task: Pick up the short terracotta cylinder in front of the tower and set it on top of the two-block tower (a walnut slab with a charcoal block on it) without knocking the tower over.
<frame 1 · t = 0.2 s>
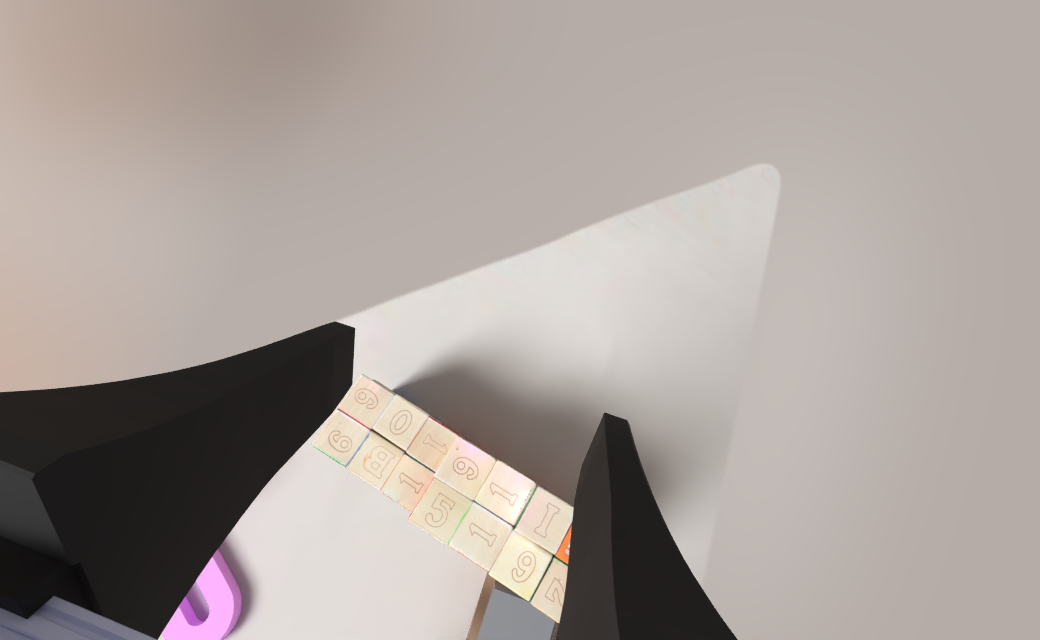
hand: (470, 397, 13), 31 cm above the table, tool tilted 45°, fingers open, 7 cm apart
stack of blocks: (468, 481, 42), on the table
tower base: (511, 614, 39), on the table, touching tower top
tower top: (514, 625, 37), point 2 cm above the table, touching tower base
bracket: (188, 567, 39), on the table
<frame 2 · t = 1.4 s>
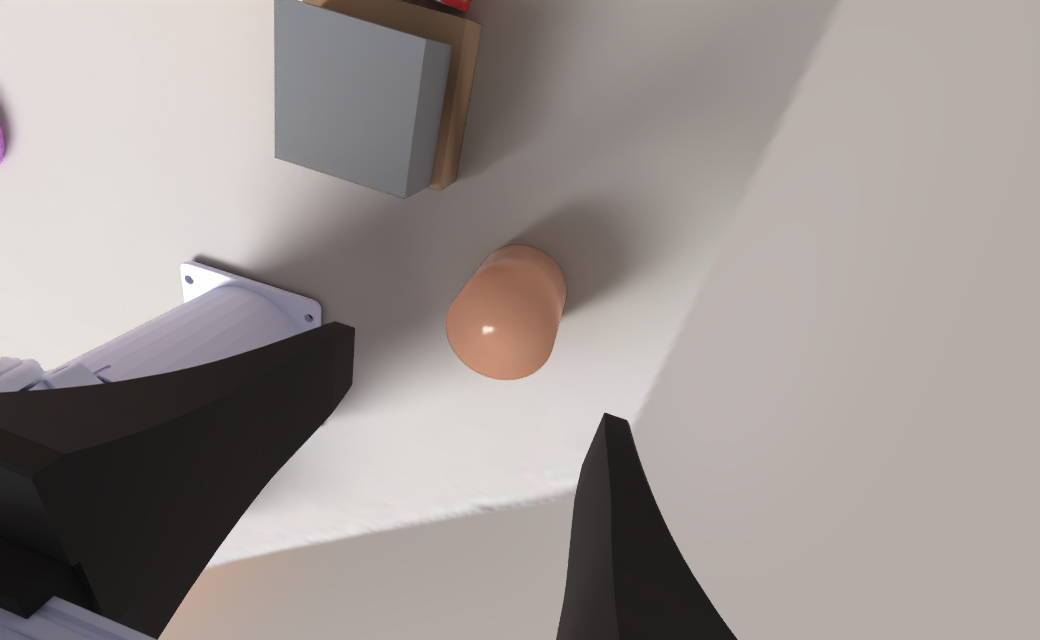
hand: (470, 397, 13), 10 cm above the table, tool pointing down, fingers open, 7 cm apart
terracotta cylinder: (520, 288, 22), on the table
tower base: (403, 89, 20), on the table, touching tower top
tower top: (378, 101, 18), point 2 cm above the table, touching tower base
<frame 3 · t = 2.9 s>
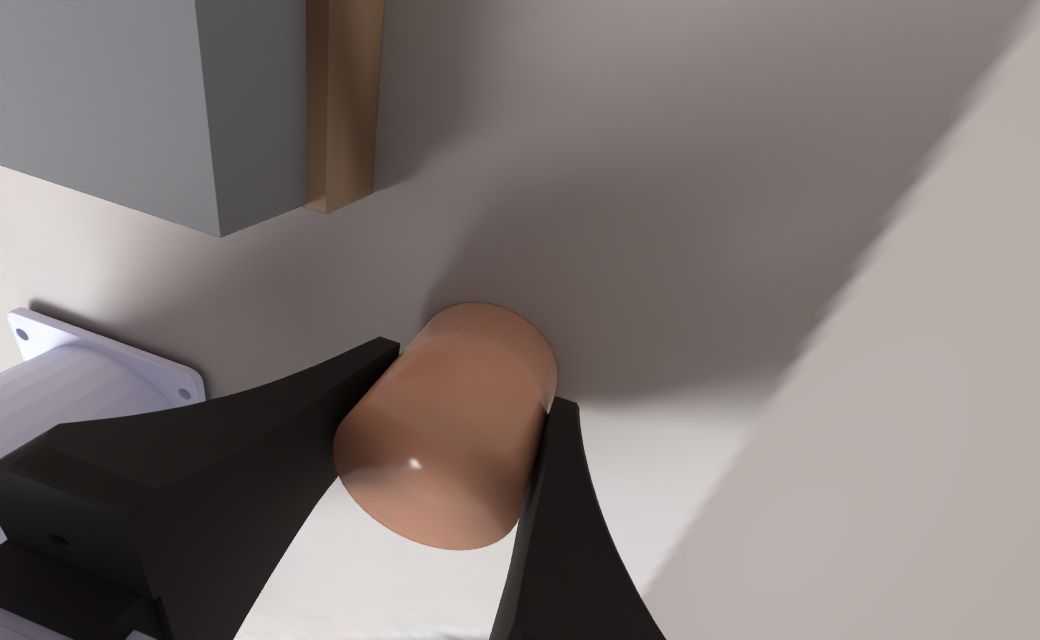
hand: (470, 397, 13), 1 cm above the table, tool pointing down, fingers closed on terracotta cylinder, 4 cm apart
terracotta cylinder: (485, 368, 14), on the table, touching gripper
tower base: (276, 36, 11), on the table, touching tower top
tower top: (195, 50, 9), point 2 cm above the table, touching tower base
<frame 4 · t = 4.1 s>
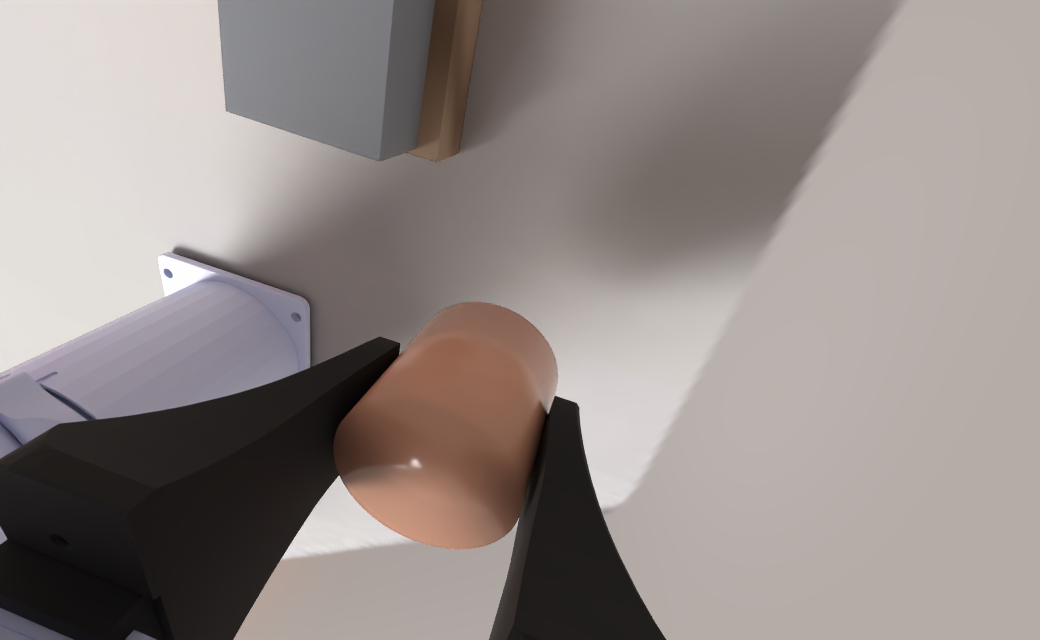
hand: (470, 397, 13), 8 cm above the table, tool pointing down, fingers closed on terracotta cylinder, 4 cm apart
terracotta cylinder: (485, 368, 14), point 6 cm above the table, touching gripper
tower base: (397, 42, 17), on the table, touching tower top
tower top: (352, 43, 15), point 2 cm above the table, touching tower base
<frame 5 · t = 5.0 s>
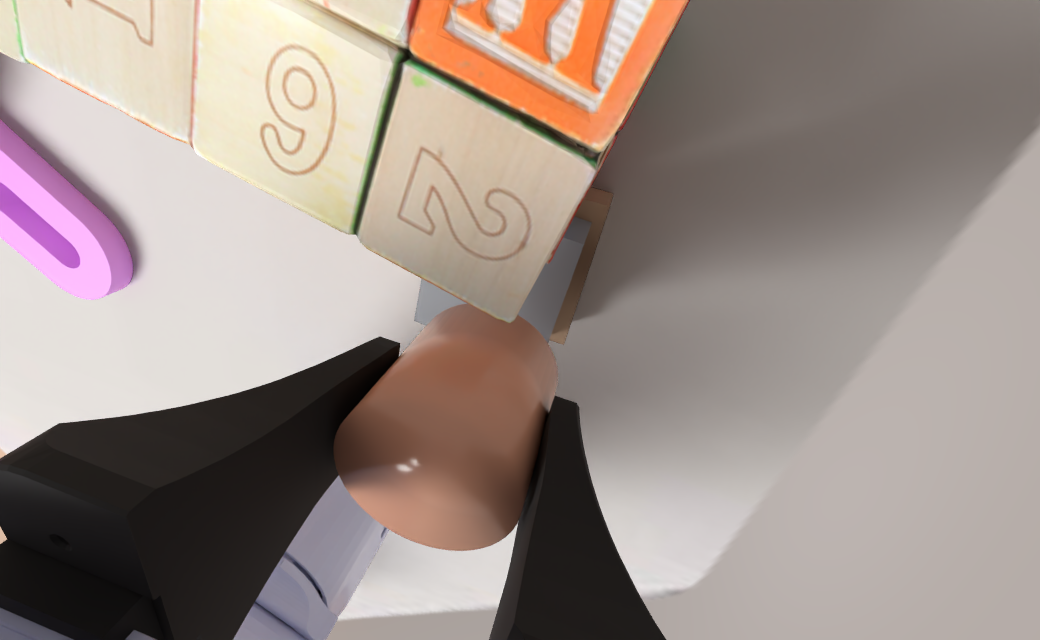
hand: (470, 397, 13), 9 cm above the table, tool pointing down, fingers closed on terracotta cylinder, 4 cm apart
terracotta cylinder: (486, 369, 14), point 7 cm above the table, touching gripper
tower base: (525, 238, 20), on the table
tower top: (509, 261, 18), point 2 cm above the table
bracket: (37, 191, 26), on the table
when the fingers open (7 cm above the table, at t = 5.9 s): terracotta cylinder stays where it is, point 6 cm above the table.
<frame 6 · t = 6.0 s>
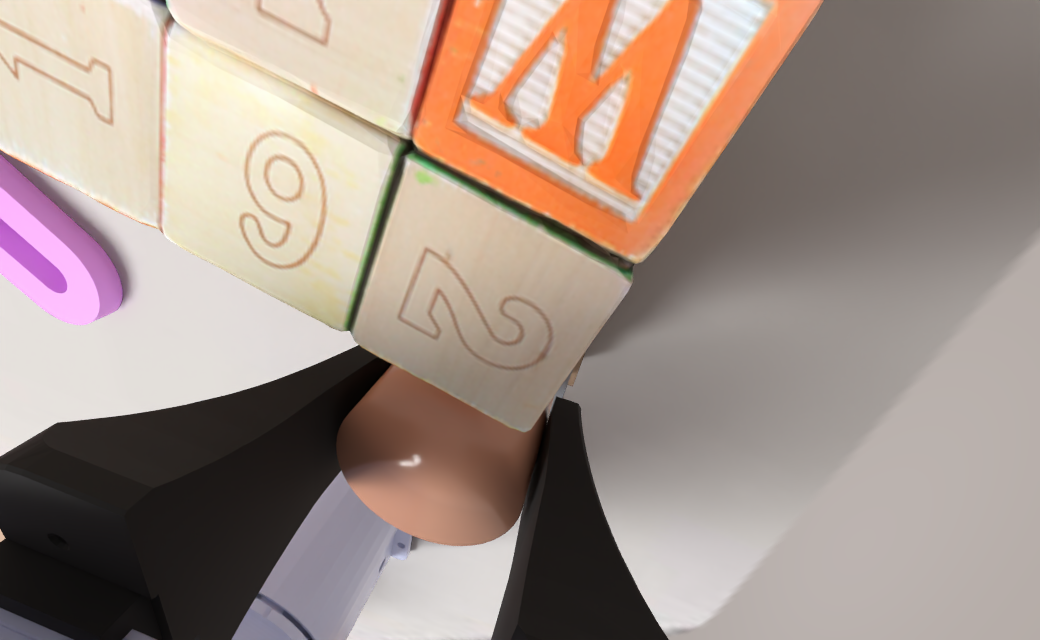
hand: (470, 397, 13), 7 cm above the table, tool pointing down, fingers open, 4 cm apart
terracotta cylinder: (487, 366, 14), point 6 cm above the table
bracket: (23, 212, 25), on the table
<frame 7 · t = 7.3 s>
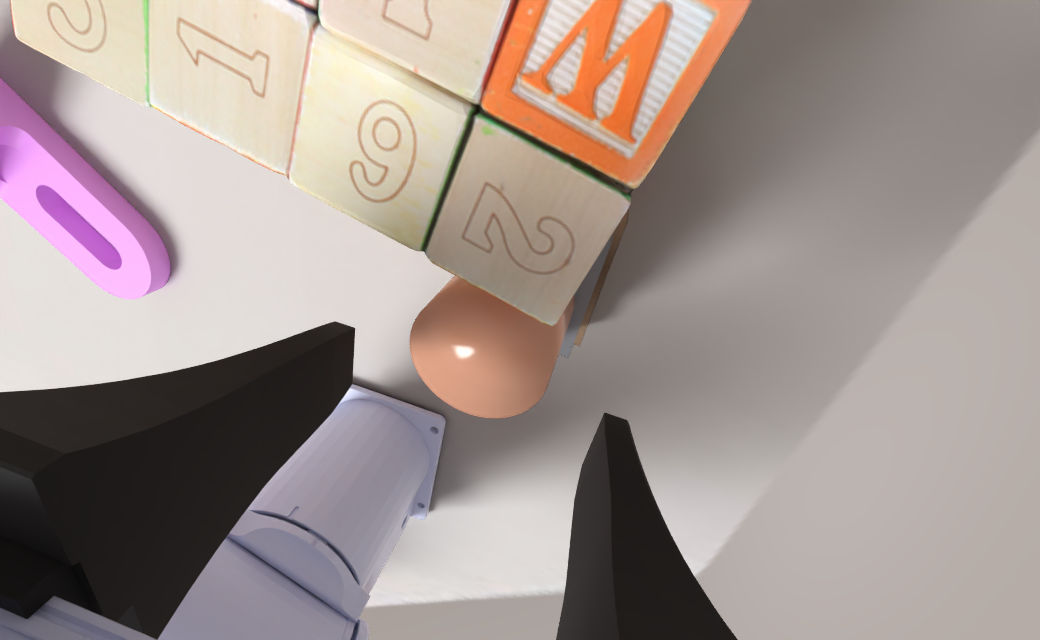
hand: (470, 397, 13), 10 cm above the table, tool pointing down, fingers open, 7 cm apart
terracotta cylinder: (517, 294, 18), point 5 cm above the table, touching tower top
tower base: (544, 247, 22), on the table, touching tower top
tower top: (537, 259, 20), point 2 cm above the table, touching terracotta cylinder, tower base
bracket: (81, 195, 27), on the table
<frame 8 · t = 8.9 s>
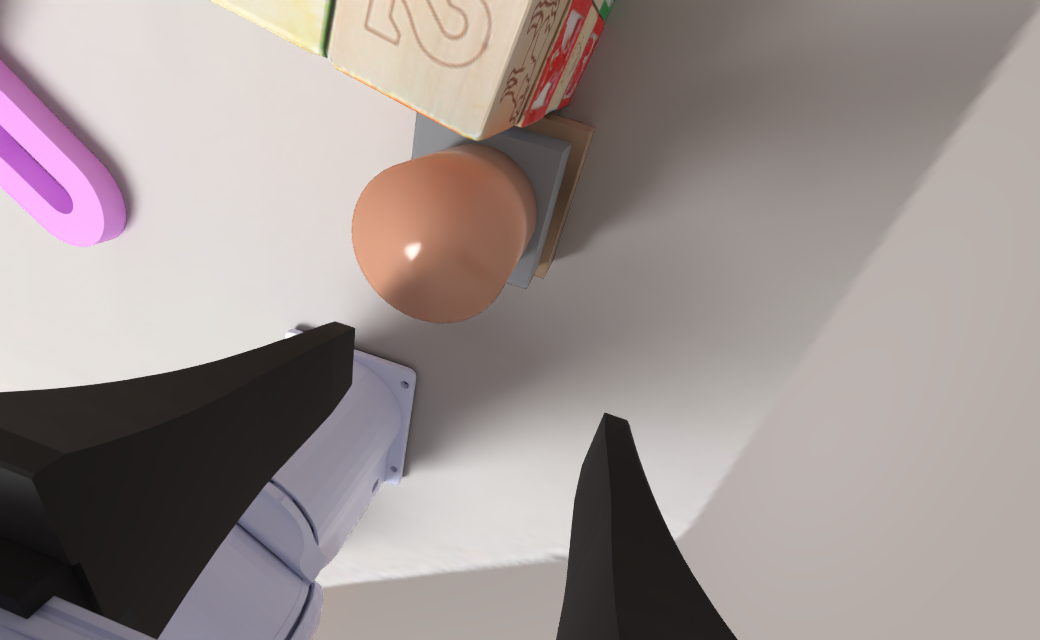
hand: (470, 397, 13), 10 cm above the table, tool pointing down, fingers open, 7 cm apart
terracotta cylinder: (475, 210, 16), point 5 cm above the table, touching tower top
tower base: (508, 176, 21), on the table
tower top: (494, 190, 18), point 2 cm above the table, touching terracotta cylinder
bracket: (31, 134, 26), on the table
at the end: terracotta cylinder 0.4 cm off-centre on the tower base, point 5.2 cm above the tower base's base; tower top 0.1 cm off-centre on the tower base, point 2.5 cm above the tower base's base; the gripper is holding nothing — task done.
